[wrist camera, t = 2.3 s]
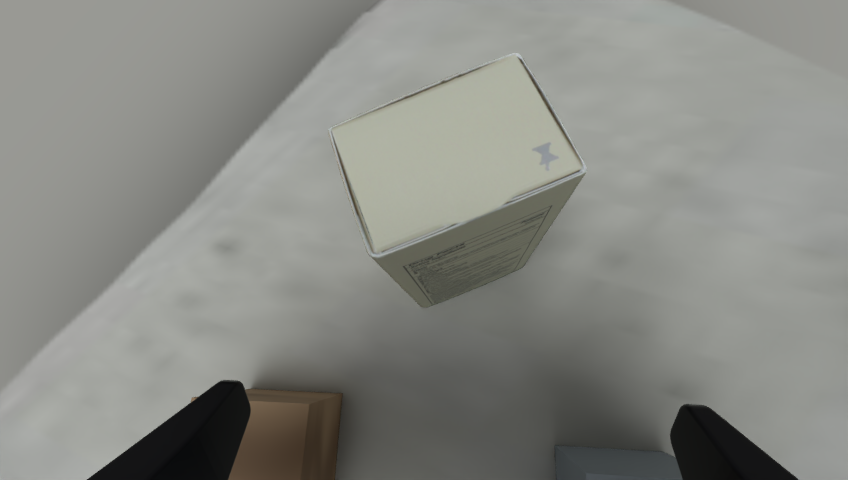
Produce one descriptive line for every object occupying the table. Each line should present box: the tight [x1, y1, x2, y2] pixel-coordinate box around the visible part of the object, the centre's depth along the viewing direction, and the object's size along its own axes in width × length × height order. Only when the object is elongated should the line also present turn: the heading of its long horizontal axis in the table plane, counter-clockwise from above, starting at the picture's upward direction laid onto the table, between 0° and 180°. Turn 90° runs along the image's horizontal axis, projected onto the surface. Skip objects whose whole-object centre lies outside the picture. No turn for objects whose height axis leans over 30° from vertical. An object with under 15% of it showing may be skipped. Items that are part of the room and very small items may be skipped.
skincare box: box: [328, 53, 587, 308], centre depth 16 cm, size 6×4×12 cm
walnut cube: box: [191, 389, 342, 480], centre depth 18 cm, size 5×5×5 cm
